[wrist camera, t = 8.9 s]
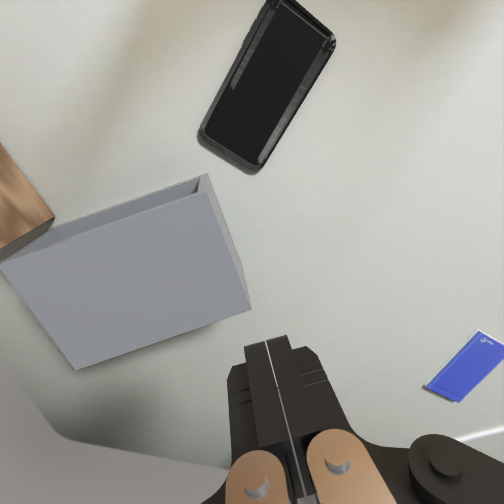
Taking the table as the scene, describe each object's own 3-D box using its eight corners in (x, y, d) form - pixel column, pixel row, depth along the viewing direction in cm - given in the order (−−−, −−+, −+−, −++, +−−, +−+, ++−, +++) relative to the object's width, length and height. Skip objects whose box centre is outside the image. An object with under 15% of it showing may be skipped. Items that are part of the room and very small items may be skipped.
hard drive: (481, 332, 47) (427, 389, 50) (514, 350, 49) (460, 403, 53) (473, 326, 49) (421, 381, 52) (505, 344, 51) (453, 396, 54)
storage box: (241, 265, 39) (251, 309, 30) (107, 312, 39) (75, 370, 30) (207, 173, 34) (206, 191, 25) (53, 227, 34) (-4, 264, 25)
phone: (340, 39, 30) (258, 174, 34) (336, 42, 31) (257, 172, 35) (274, -18, 28) (194, 134, 32) (272, -13, 29) (195, 133, 33)
